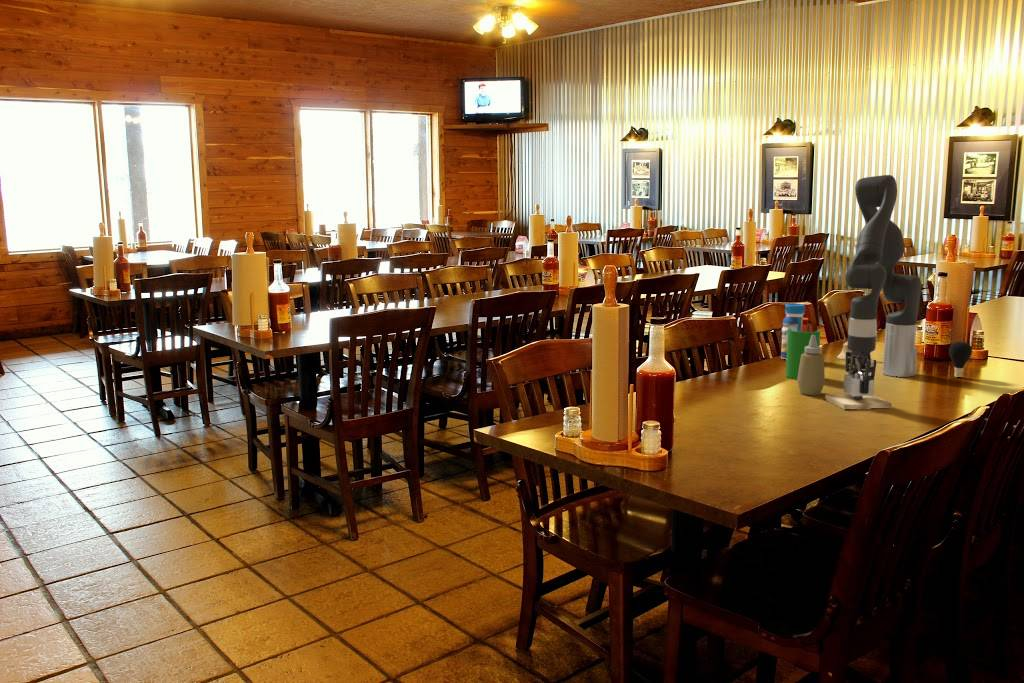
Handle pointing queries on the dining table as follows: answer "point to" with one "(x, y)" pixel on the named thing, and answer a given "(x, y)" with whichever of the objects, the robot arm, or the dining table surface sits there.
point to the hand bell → (844, 348)
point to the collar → (856, 386)
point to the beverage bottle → (791, 323)
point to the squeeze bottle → (811, 369)
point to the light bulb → (960, 356)
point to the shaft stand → (857, 400)
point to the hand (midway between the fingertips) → (858, 390)
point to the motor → (798, 347)
